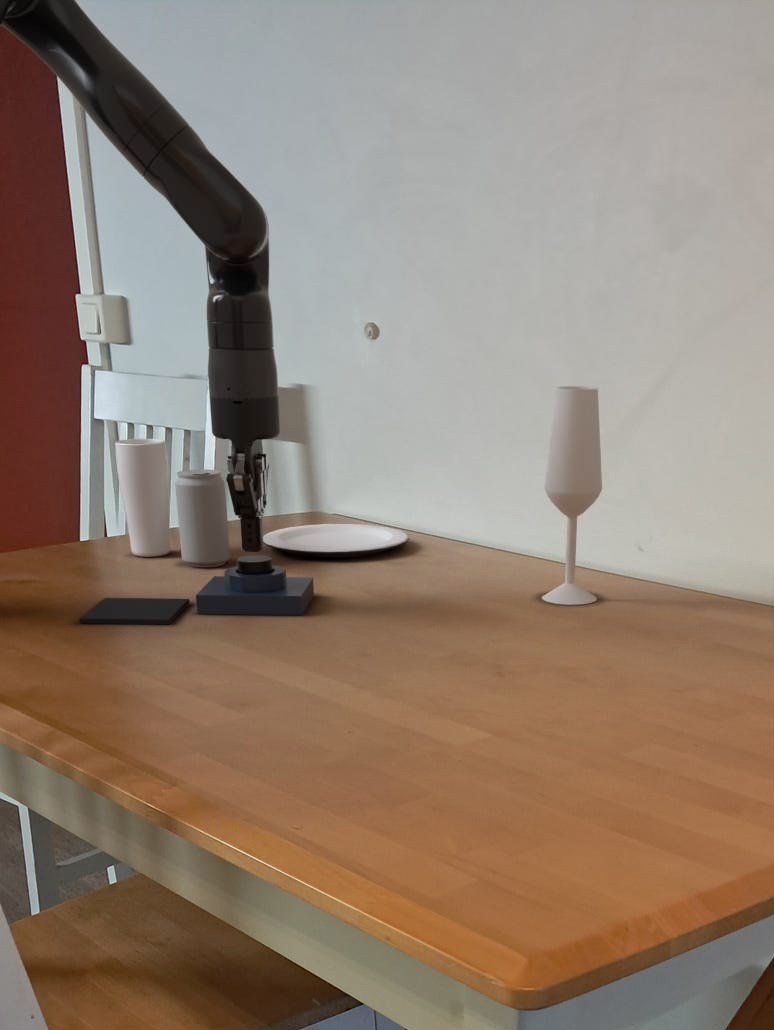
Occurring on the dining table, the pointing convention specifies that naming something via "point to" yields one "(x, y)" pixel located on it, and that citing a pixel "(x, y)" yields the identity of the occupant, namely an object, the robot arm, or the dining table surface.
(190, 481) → the beverage can
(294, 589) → the button box
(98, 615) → the coaster
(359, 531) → the plate
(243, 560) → the button
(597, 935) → the dining table surface
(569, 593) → the champagne flute
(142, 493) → the drinking glass
